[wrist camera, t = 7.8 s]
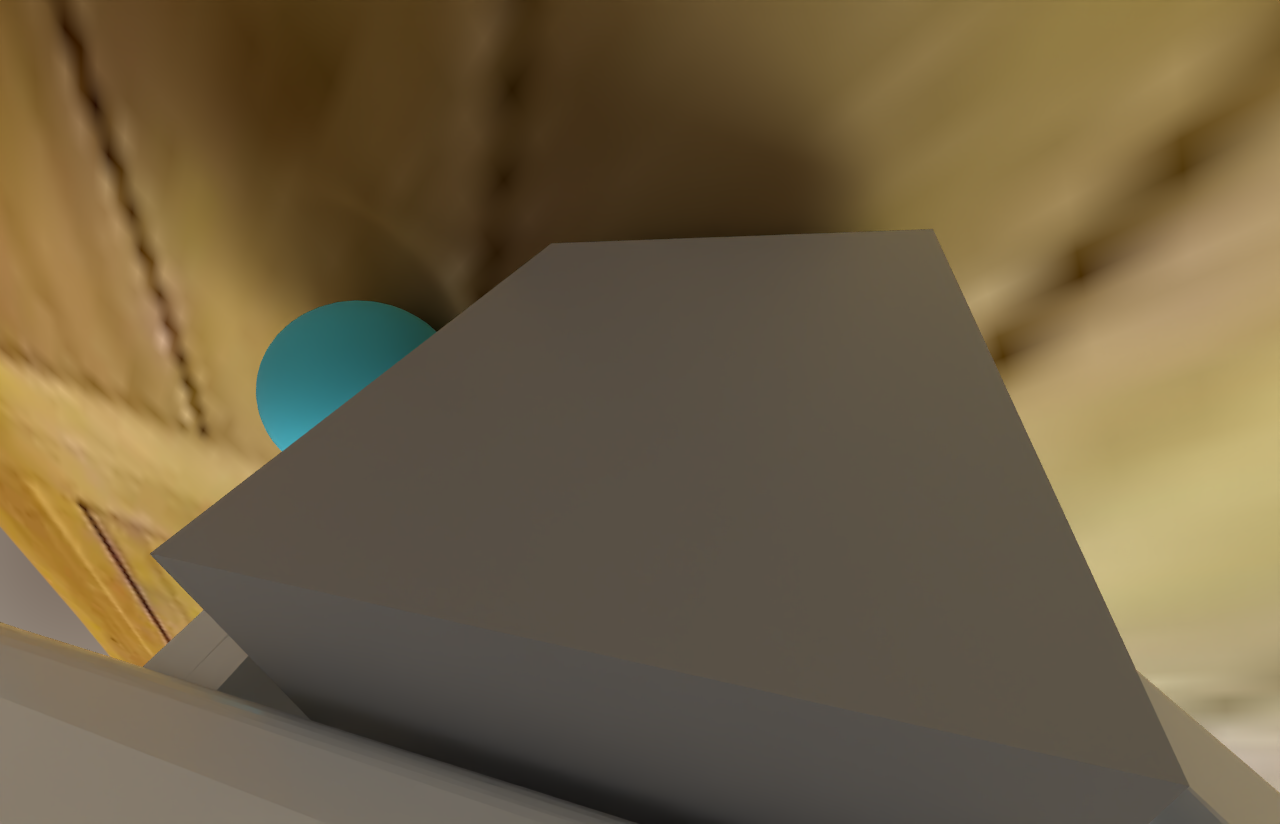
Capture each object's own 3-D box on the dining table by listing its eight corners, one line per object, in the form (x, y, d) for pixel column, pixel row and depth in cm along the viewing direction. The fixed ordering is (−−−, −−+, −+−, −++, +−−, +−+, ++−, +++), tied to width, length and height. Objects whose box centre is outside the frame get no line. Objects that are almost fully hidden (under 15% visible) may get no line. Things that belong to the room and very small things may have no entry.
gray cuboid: (932, 229, 9) (1191, 787, 3) (878, 525, 13) (919, 1033, 7) (551, 243, 12) (149, 553, 5) (606, 492, 16) (432, 845, 9)
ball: (465, 270, 14) (330, 362, 10) (512, 419, 17) (419, 535, 13) (324, 272, 16) (160, 353, 12) (388, 409, 19) (272, 510, 15)
